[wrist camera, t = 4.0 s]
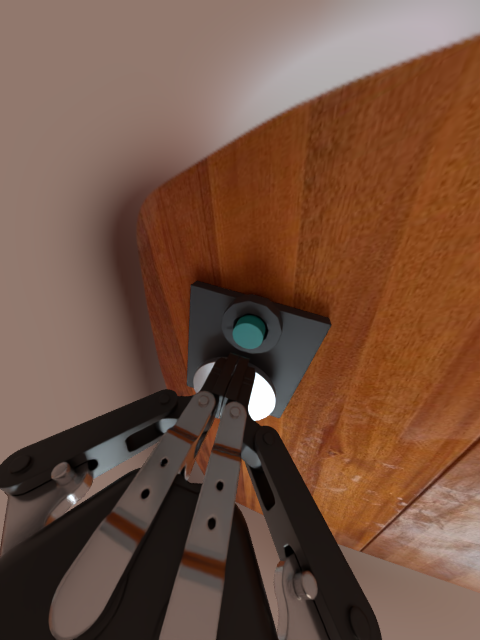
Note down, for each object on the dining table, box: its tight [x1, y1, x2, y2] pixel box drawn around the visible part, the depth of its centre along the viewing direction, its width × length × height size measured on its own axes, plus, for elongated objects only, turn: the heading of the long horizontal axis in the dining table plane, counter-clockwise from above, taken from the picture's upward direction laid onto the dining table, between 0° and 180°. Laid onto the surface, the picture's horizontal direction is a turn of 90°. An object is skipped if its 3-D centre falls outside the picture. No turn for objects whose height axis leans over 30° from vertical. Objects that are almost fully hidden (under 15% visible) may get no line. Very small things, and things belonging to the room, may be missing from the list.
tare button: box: [233, 315, 265, 349], centre depth 17 cm, size 3×3×2 cm
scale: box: [187, 281, 331, 418], centre depth 22 cm, size 17×14×3 cm
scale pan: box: [193, 357, 276, 421], centre depth 22 cm, size 10×10×1 cm
